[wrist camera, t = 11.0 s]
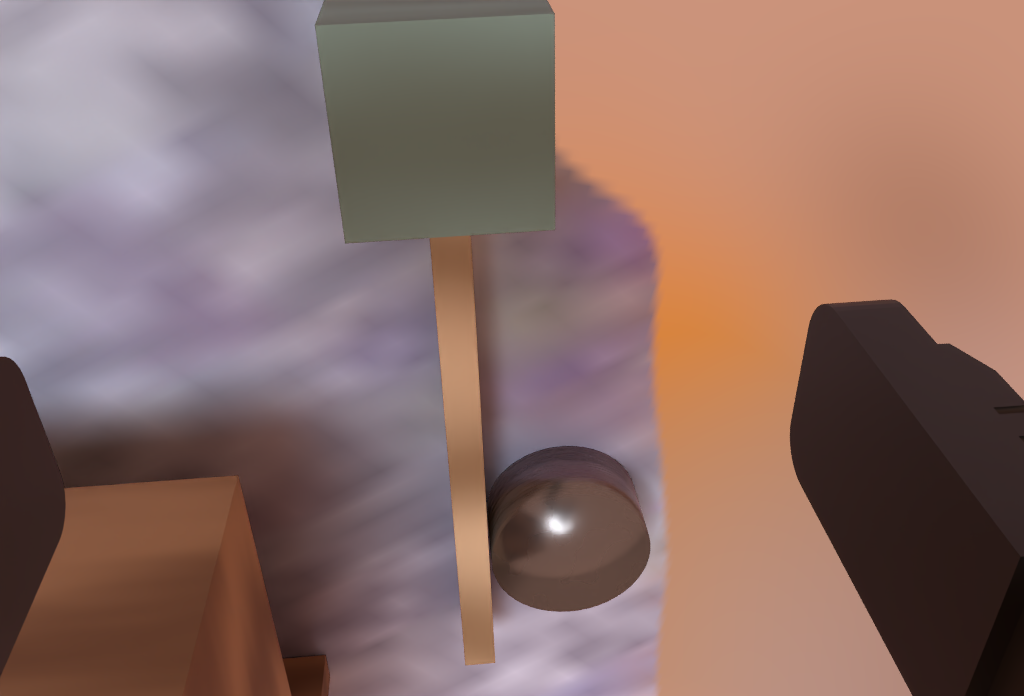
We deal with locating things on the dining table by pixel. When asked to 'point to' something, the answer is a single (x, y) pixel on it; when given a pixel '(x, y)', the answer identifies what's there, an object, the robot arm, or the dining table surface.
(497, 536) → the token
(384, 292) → the dining table surface
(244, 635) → the bread box
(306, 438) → the dining table surface
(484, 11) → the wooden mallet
